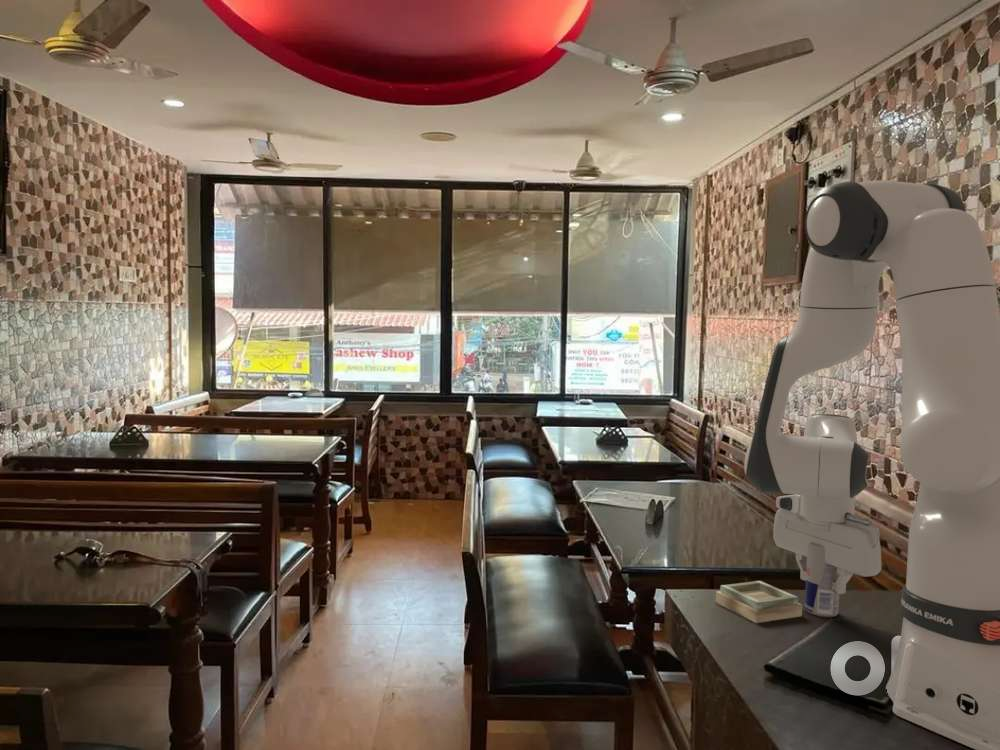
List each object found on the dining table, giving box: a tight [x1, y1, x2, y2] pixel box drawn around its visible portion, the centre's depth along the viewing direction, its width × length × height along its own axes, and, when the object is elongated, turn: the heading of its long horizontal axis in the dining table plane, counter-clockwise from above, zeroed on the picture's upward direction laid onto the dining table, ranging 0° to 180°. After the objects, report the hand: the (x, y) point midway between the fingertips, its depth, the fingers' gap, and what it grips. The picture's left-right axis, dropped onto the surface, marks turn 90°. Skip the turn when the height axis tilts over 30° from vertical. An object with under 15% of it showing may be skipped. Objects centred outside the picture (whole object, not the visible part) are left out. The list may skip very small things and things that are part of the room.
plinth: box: [715, 580, 803, 624], centre depth 124 cm, size 10×10×3 cm
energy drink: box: [804, 542, 840, 618], centre depth 124 cm, size 5×5×12 cm
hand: (822, 586), depth 124 cm, fingers closed on energy drink, 5 cm apart
